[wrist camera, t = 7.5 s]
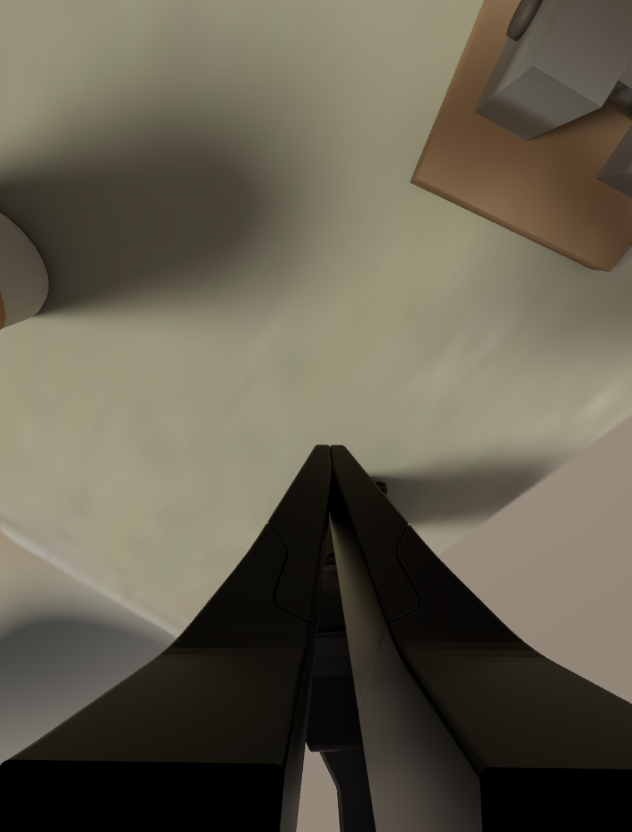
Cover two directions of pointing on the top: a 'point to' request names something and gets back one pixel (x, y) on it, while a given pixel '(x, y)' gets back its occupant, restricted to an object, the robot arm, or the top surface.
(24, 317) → the coffee cup
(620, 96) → the lever
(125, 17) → the top surface
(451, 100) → the tan base plate
